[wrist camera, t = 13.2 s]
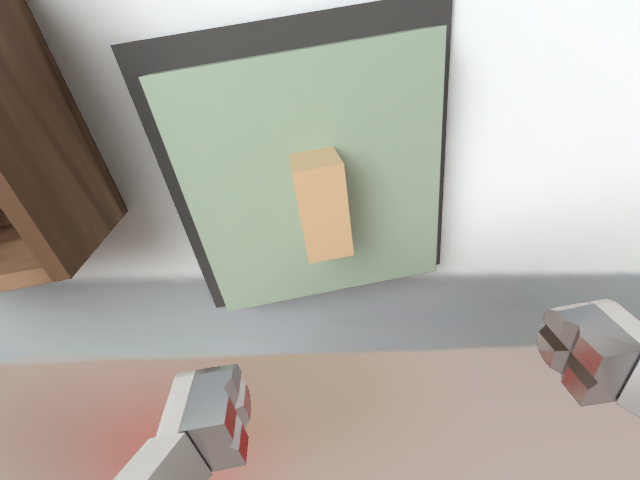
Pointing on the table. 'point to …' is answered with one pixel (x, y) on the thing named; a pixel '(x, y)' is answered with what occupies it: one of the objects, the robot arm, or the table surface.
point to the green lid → (310, 162)
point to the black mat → (263, 38)
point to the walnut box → (45, 164)
